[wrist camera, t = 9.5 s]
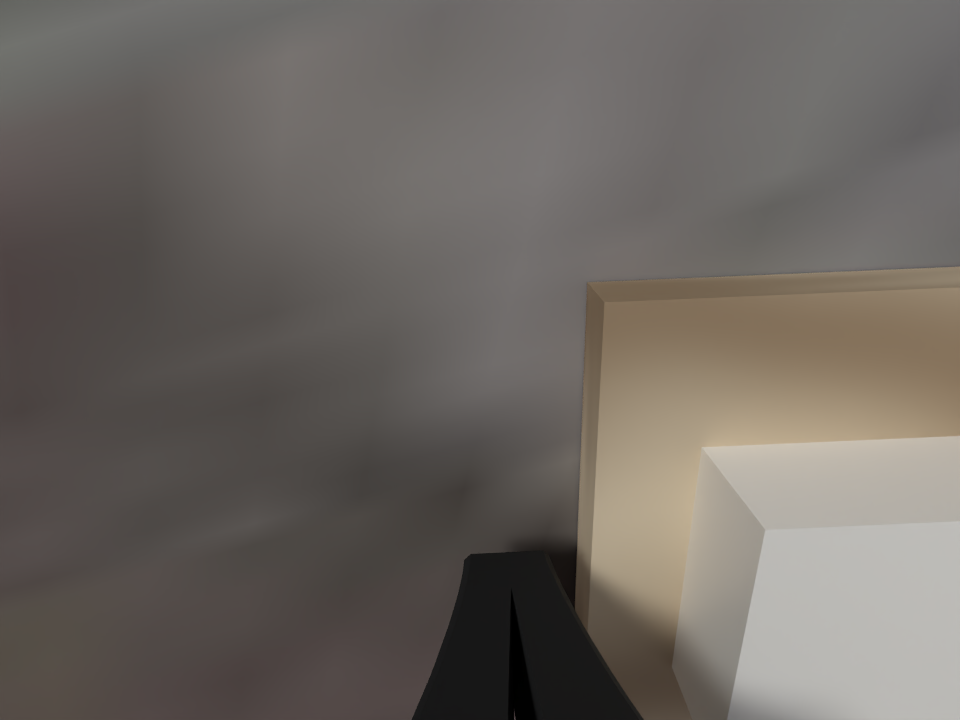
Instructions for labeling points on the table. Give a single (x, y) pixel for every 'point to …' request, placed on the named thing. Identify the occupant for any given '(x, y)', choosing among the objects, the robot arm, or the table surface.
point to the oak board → (732, 419)
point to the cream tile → (823, 582)
